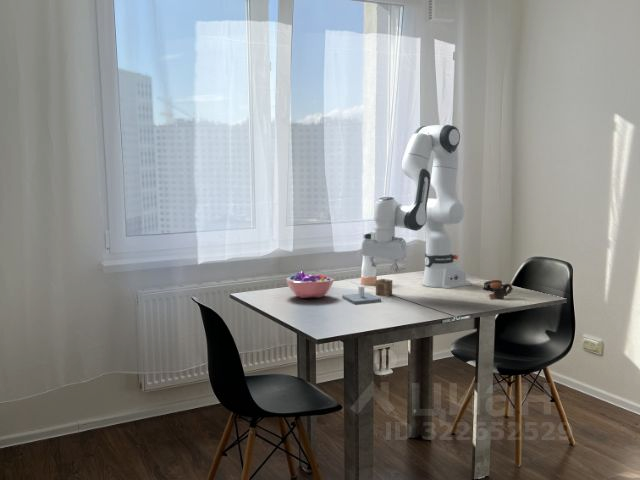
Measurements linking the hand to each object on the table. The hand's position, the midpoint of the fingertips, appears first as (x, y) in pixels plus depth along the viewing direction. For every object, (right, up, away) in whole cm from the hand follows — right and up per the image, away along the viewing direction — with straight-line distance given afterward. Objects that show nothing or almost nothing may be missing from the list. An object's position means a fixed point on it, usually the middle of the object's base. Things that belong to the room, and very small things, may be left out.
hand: (383, 268), depth 271 cm
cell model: (-31, -12, -3) cm, 33 cm away
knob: (+1, -11, +2) cm, 11 cm away
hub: (-10, -13, -7) cm, 17 cm away
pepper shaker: (-4, -8, +25) cm, 26 cm away
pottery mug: (+47, -12, -3) cm, 49 cm away
